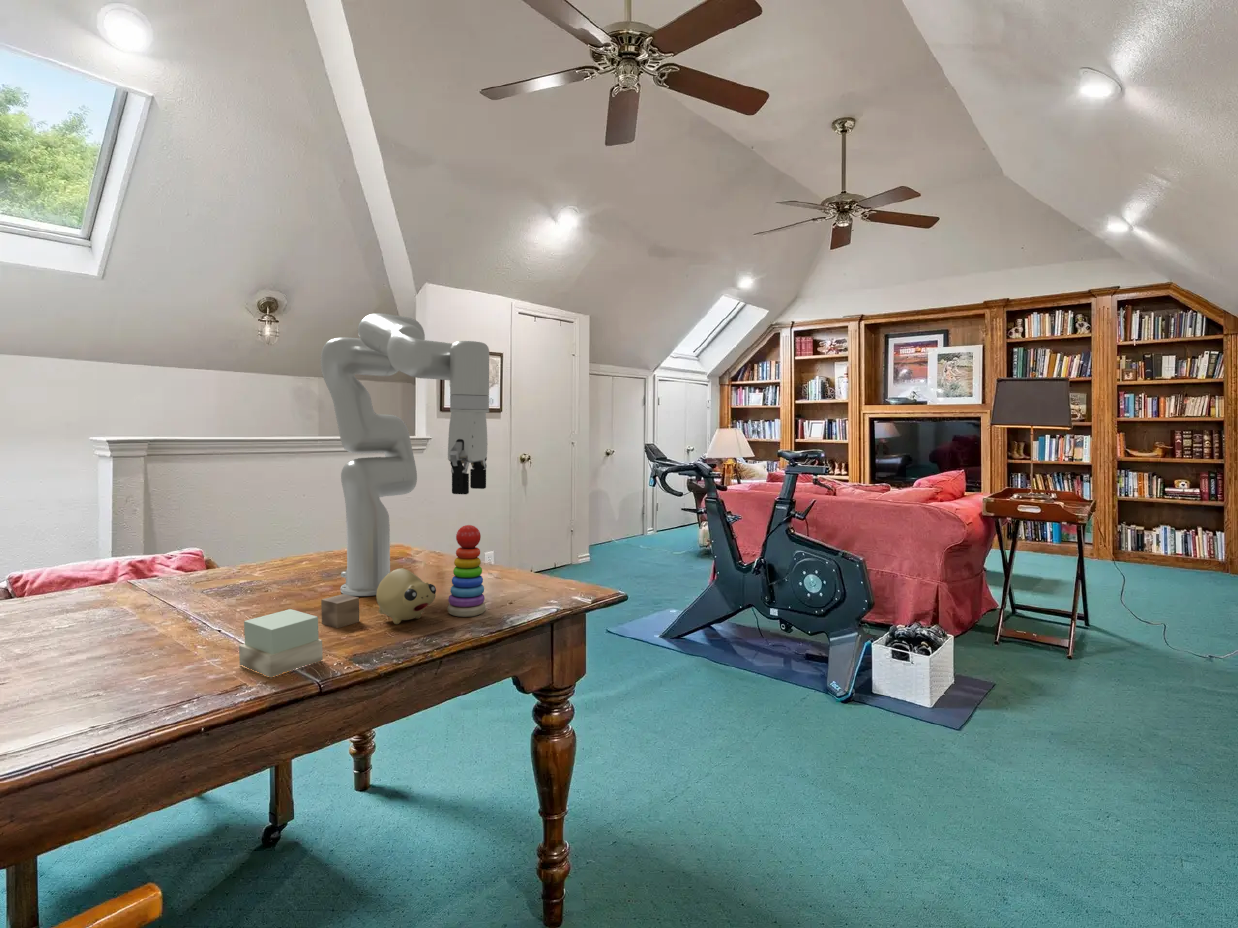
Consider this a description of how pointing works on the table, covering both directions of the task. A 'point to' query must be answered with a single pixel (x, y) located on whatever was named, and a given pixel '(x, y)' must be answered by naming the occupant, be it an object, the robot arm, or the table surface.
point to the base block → (280, 658)
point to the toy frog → (403, 595)
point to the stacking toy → (467, 576)
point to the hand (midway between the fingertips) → (469, 491)
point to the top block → (281, 631)
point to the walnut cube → (340, 610)
